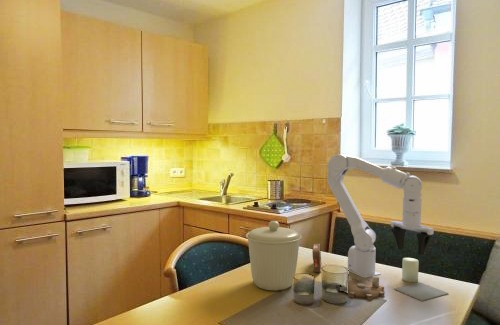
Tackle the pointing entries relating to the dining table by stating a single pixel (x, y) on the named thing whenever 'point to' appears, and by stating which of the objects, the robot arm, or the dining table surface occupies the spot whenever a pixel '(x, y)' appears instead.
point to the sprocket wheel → (365, 288)
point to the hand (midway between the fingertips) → (410, 251)
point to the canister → (273, 256)
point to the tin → (316, 258)
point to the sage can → (410, 269)
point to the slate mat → (421, 291)
